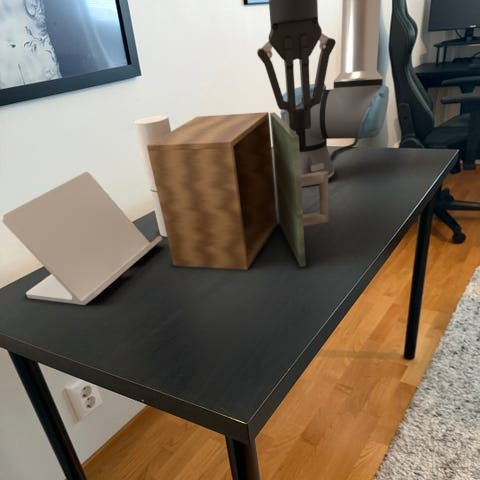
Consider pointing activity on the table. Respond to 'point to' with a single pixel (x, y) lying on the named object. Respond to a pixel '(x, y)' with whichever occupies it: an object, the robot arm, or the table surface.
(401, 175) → the table surface
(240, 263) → the cupboard
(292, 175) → the cupboard door
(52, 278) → the tablet stand
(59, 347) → the table surface
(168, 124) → the cylindrical container
